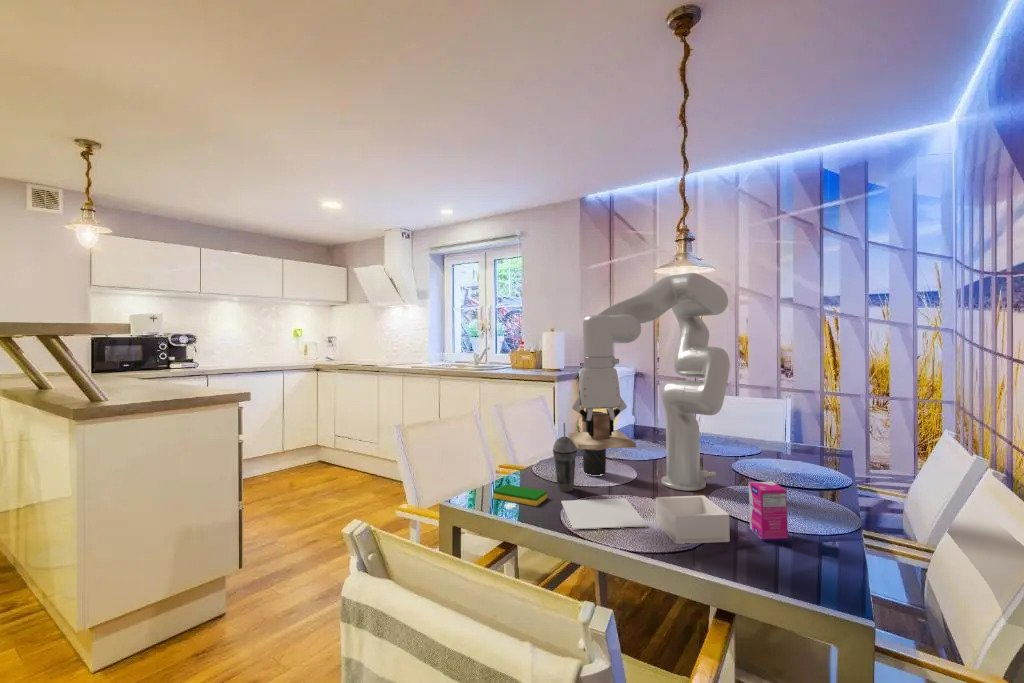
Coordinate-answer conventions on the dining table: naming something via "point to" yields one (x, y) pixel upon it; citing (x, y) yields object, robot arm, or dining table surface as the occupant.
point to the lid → (601, 435)
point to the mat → (602, 514)
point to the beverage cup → (565, 462)
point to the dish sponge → (520, 495)
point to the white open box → (692, 519)
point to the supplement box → (768, 511)
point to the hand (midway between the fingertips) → (599, 434)
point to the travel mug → (593, 457)
